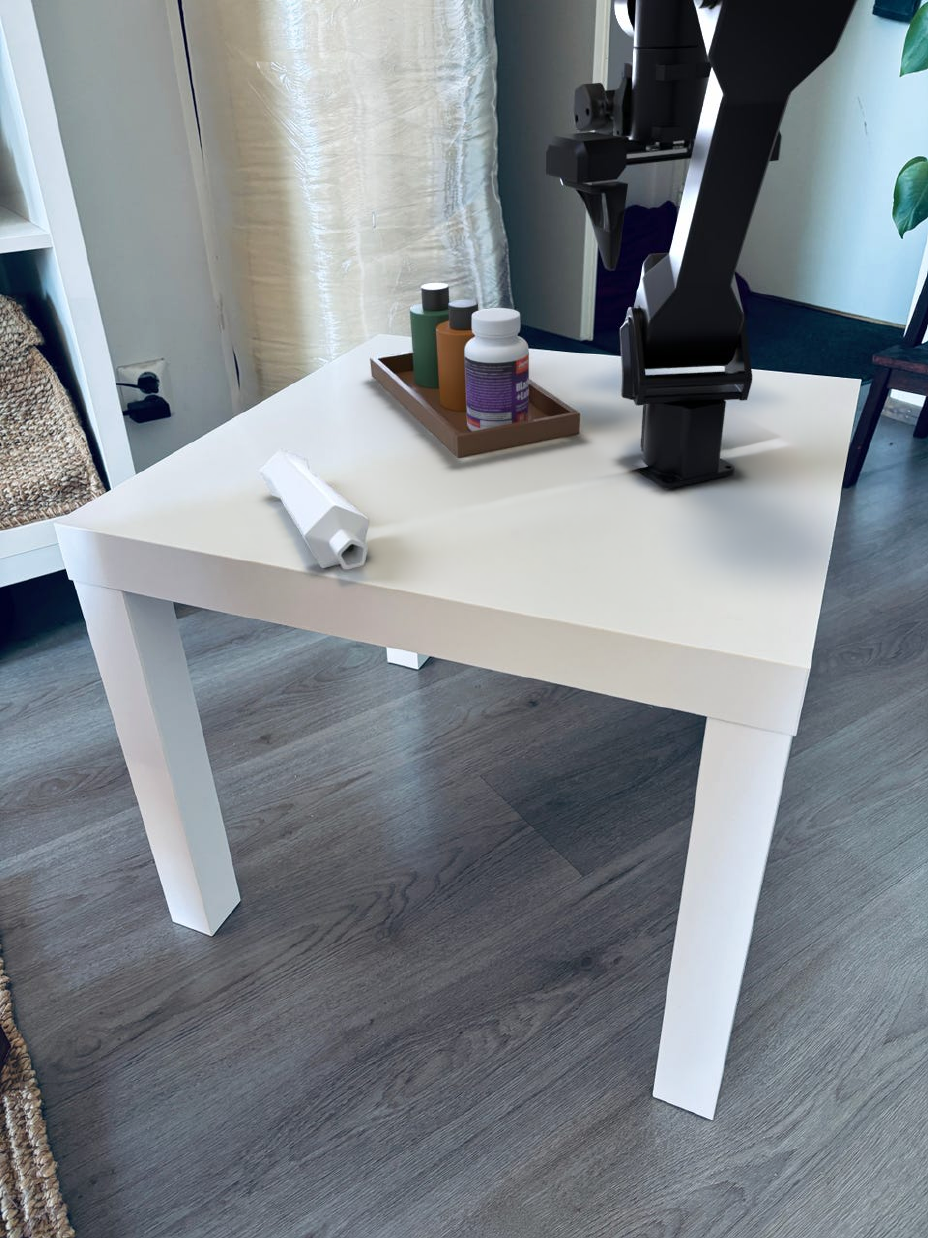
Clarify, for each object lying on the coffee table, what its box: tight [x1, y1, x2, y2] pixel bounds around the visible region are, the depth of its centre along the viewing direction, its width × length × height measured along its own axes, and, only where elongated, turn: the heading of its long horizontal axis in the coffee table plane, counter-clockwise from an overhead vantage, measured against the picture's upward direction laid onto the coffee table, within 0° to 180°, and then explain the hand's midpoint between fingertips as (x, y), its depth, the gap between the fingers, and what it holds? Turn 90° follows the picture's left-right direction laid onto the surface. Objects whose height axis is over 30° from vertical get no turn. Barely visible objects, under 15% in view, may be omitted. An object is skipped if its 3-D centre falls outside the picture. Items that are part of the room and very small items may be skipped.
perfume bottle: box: [258, 448, 370, 570], centre depth 68 cm, size 5×4×15 cm
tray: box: [369, 350, 581, 459], centre depth 89 cm, size 23×11×3 cm, turn 22°
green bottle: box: [409, 282, 451, 388], centre depth 92 cm, size 5×5×9 cm
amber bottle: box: [436, 299, 479, 411], centre depth 87 cm, size 5×5×9 cm
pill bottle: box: [465, 307, 530, 431], centre depth 81 cm, size 5×5×10 cm
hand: (657, 262), depth 81 cm, fingers open, 9 cm apart
